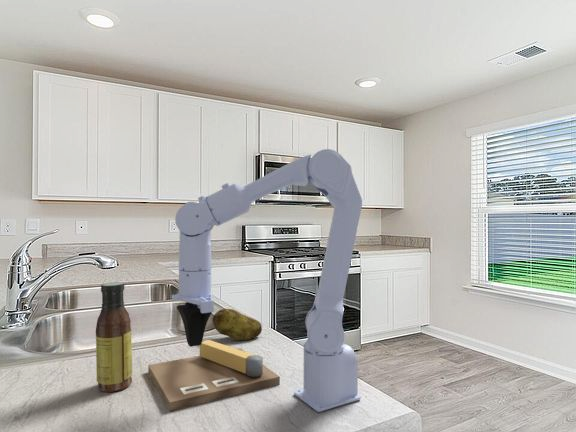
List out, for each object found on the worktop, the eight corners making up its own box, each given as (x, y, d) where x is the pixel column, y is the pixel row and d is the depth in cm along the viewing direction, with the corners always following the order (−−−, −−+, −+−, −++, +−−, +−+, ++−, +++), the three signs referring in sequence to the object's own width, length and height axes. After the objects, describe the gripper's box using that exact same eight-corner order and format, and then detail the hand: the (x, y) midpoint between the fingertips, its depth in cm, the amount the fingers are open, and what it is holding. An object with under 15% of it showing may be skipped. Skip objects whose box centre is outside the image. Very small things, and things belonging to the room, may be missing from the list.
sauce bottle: (122, 376, 77) (123, 279, 77) (138, 385, 73) (139, 282, 73) (89, 387, 72) (90, 283, 72) (104, 397, 68) (105, 286, 68)
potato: (256, 344, 97) (256, 313, 98) (208, 342, 99) (209, 311, 99) (263, 335, 106) (263, 306, 106) (219, 333, 108) (219, 304, 108)
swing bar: (266, 373, 74) (266, 357, 74) (254, 378, 72) (254, 362, 72) (209, 352, 86) (210, 339, 86) (198, 356, 83) (198, 342, 83)
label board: (240, 354, 90) (240, 347, 90) (279, 384, 74) (279, 376, 74) (148, 372, 79) (148, 364, 79) (169, 411, 63) (169, 401, 63)
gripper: (163, 266, 73) (162, 337, 72) (183, 276, 60) (183, 361, 60) (199, 264, 76) (198, 332, 76) (225, 273, 64) (225, 354, 64)
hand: (194, 344), depth 68 cm, fingers closed
